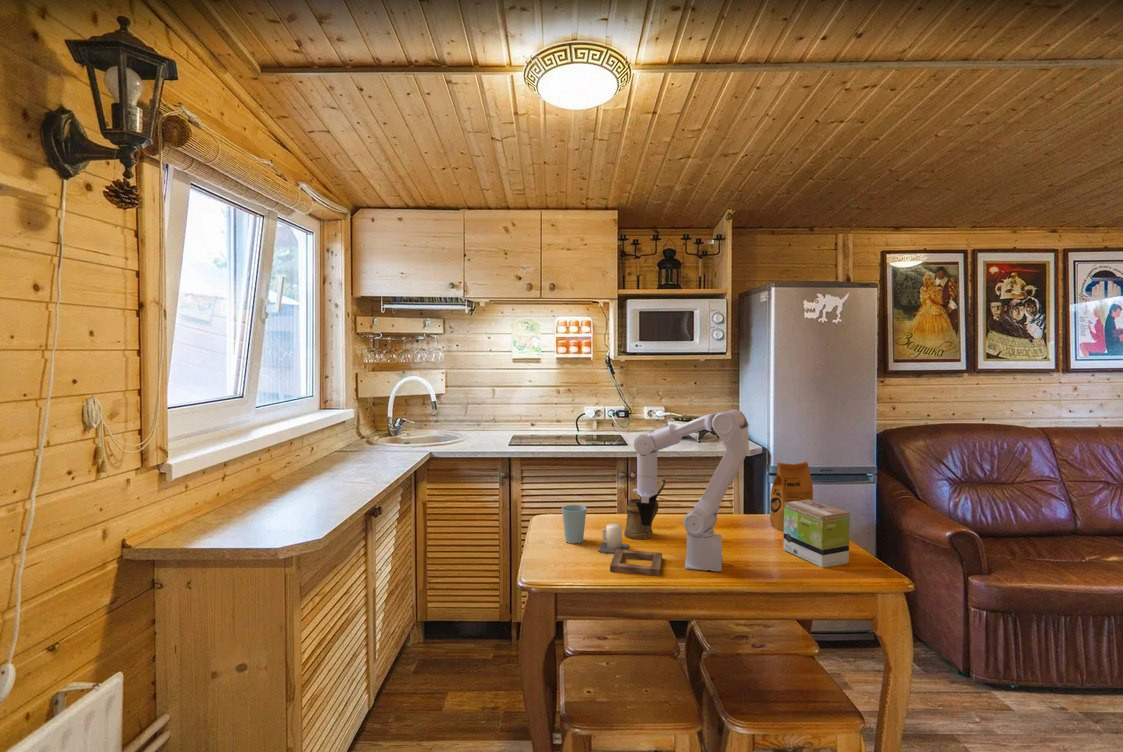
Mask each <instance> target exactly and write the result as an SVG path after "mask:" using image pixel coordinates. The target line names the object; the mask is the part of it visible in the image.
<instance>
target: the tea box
mask: <svg viewBox="0 0 1123 752" xmlns="http://www.w3.org/2000/svg"><path fill="white" fill-rule="evenodd" d="M783 551H785V552H788V553H791V554H793V555H795V556H797V557H798V558H801V559H803V560H805V561H807V562H809V563H811V564H812V565H815V566H818V567H820V568H822V569H823V568H824V569H825V568H829V567H835V566H842V565H846V564H849V562H850V559H849V558H850V511H846V510H843V509H840V508H837V507H833V506H831V505H828V504H825V503H821V502H819V501H815V500H814V499H813V500H810V499H807V500H800V501H793V502H786V503H785V502H784V531H783Z"/></svg>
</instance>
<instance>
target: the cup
mask: <svg viewBox="0 0 1123 752" xmlns="http://www.w3.org/2000/svg"><path fill="white" fill-rule="evenodd" d="M561 512H562V522H563V530H564V531H563V532H564V540H565V542H566V543H567V542H568V544H570V543H578V544H582V543H583V541H584V534H585V525H586V524H585V523H586V516H587V507H586V506H584V505H580V504H568V505H564V506H562V507H561ZM581 542H582V543H581Z"/></svg>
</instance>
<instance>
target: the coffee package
mask: <svg viewBox="0 0 1123 752" xmlns="http://www.w3.org/2000/svg"><path fill="white" fill-rule="evenodd" d="M776 464H777V465H776V466H777V469H778V470H777V472H776V474H775V478H774V480H773V483H772V486H771V490H770V500H769V501H770V503H769V506H770V507H769V508H770V512H769V521H770V524H771V526H774V528H776V529H777V530H778V531H781V532H784V502H785V503H786V502H793V501H800V500H807V499H810V500H813V501H814V492H813V491H814V489H813V480H812V476H811V473H810V472H811V471H810V466H809V463H808V461H804V462H803V461H802V462H800V463H795V464H793V463H785V462H777V463H776Z"/></svg>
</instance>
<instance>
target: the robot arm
mask: <svg viewBox="0 0 1123 752" xmlns="http://www.w3.org/2000/svg"><path fill="white" fill-rule="evenodd" d="M749 427H750V424H749V422H748V420H747V418H746V416H745V414H744V413H743V411H741V410H739V409H736V408H732V409H729V410H726V411H719V412H715V413H714V412H713V413H710V414H705V415H702V416H700V417H698V418H695V419H693V420H690V421H688V422H685V423H683V424H680V425H678V426H677V425H676V424H672V423H670V424H669V423H664V424H662V427H660V428H657V429H655V430H654V429H651V430H648V433H645V434H644V433H643V434H642V433H641V434H639V436H637V437H636V438H635V439H634V442H633V447H634V451H635V452H636V457H637V458H636V460H637V461H636V464H637V465H636V475H637V477H636V478H637V479H636V481H637V482H636V485H637V486H636V488H633V490H632V493H636V494H637V495H638V496H639V499H641V500H636V505H637V507H638V509H639V512H640V517H641V522H642V525H643V526H650V522H651V518H652V515H653V509H654V506H655V504H656V502H655V501H656V499H657V498H658V496H659V495H658V490H657V483H658V452H659V451H660V450H663V449H667V448H669V447H671V446H674V445H677V444H679V443H680V442H681V441H682V438H683V437H686V436H688V435H691V434H694V433H697V432H700V431H703V430H707V431H708V432H715V433H716V435H717V436H718V437H719V438H720V439H721V441H722V442H723V445H724V447H725V452H724V453H723V456H722V458H721V459H720V462H719V463H718V466H717V467H716V469H715V472H714V473H713V475H712V476H711V479H710V480H709V483H707V486H706V488H705V490H704V492H703V494H702V495H701V497H700V499H699V500H698V502H697V503H695V505H694V507H693V508H692V510H691V511H690V512H688V513H687V514H686V515H685V516H684V518H683V521H682V522H683V527H684V529H685V531H686V556H685V557H684V558H685V561H684V562H685V564H684V569H686V570H696V571H707V570H711V571H710V572H719V571H721V572H723V571H722V566H723V565H722V563H723V561H724V560H723V558H724V556H723V550H722V549H723V548H722V547H723V545H722V543H723V541H722V539H723V537H722V534H719V533H715V531H714V527H715V525H716V524H717V521H718V513H719V510H720V504H721V502H722V501H723V498H724V497H725V495H726V493H727V491H728V489H730V486H731V484H732V482H733V480H734V478H735V477H736V475H737V473H738V471H739V470H740V467H741V466H742V464H743V462H744V460H745V458H746V457H747V456H748V453H749V450H750V447H749V446H750V445H749V443H750V442H749Z"/></svg>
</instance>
